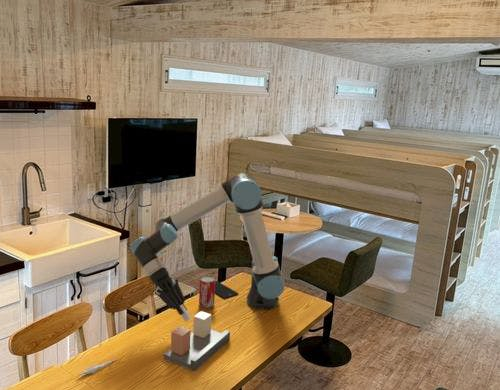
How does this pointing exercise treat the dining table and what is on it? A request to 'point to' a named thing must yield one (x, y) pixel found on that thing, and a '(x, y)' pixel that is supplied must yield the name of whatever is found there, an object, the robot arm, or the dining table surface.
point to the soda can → (207, 292)
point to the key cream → (202, 324)
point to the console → (199, 350)
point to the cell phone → (224, 291)
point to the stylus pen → (95, 368)
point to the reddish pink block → (180, 340)
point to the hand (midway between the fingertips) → (188, 319)
